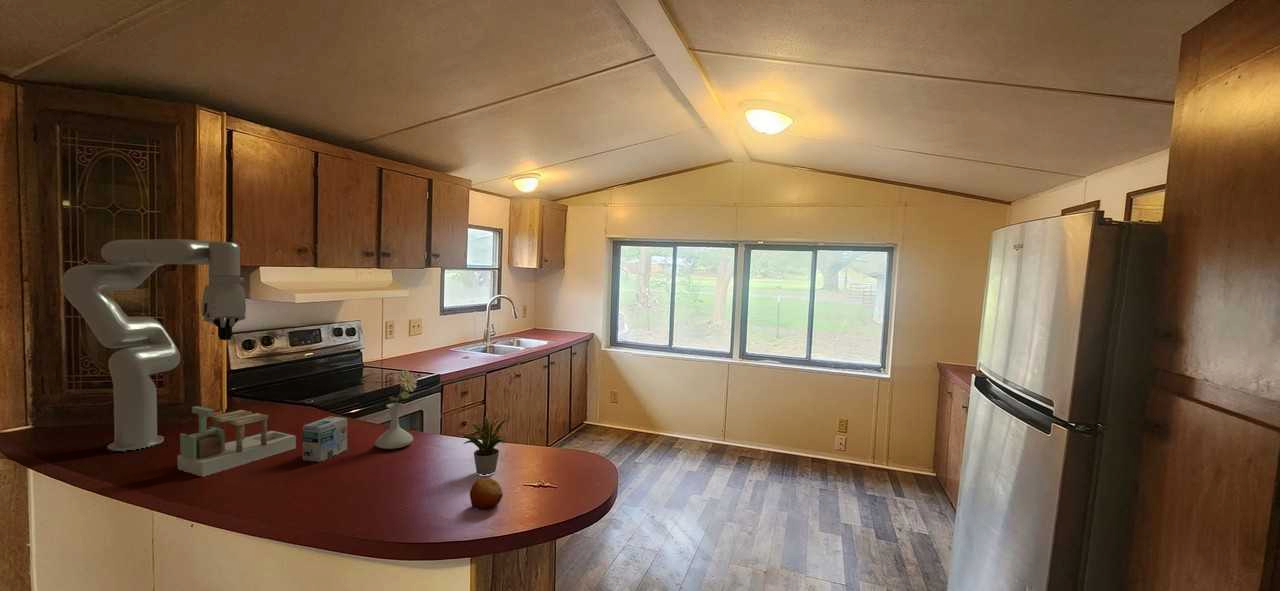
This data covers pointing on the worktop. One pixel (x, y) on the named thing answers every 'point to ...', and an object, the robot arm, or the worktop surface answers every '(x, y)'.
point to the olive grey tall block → (199, 434)
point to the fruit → (485, 494)
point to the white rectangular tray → (239, 454)
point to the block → (208, 446)
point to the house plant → (486, 447)
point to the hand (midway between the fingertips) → (225, 339)
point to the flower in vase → (395, 434)
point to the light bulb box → (324, 438)
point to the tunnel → (242, 424)
